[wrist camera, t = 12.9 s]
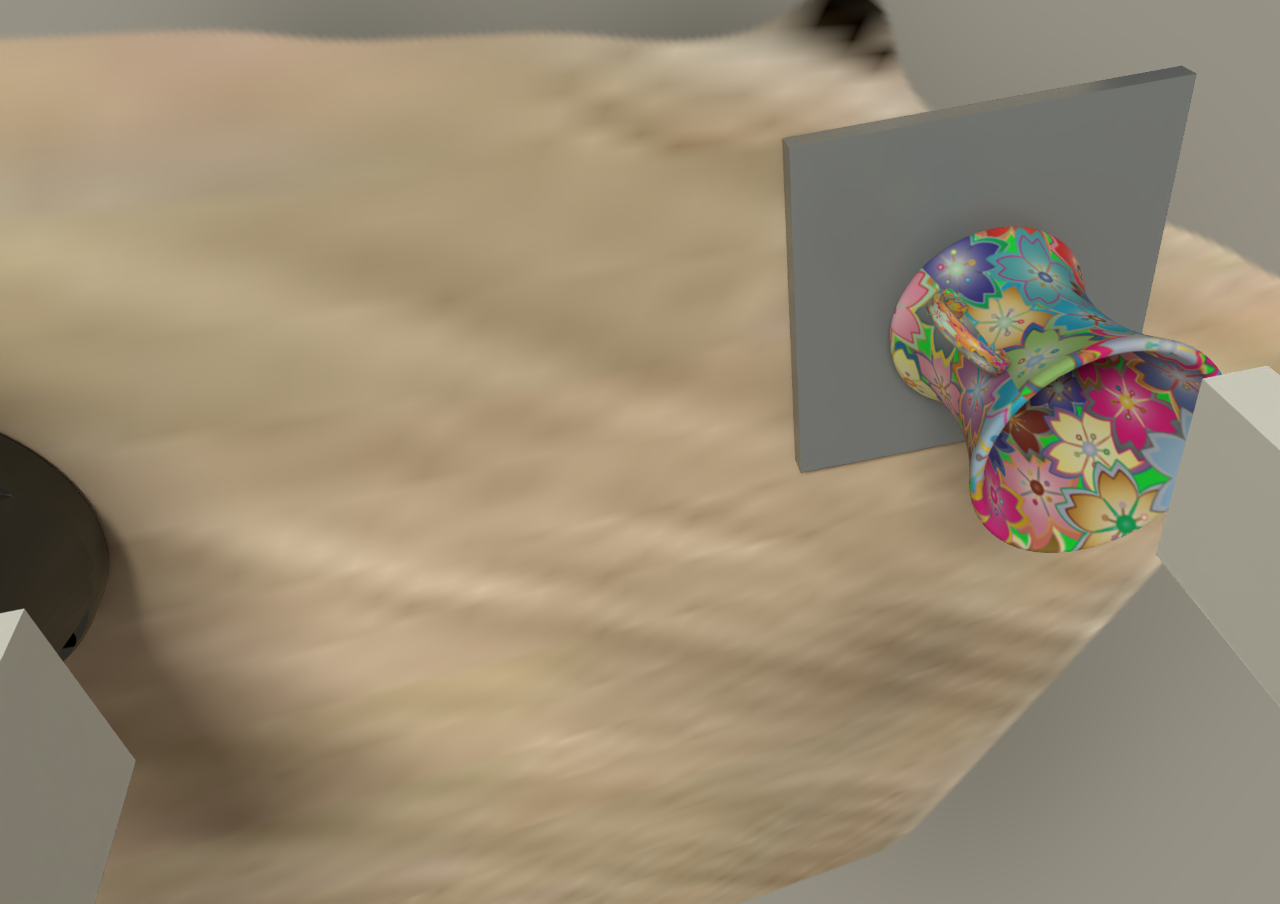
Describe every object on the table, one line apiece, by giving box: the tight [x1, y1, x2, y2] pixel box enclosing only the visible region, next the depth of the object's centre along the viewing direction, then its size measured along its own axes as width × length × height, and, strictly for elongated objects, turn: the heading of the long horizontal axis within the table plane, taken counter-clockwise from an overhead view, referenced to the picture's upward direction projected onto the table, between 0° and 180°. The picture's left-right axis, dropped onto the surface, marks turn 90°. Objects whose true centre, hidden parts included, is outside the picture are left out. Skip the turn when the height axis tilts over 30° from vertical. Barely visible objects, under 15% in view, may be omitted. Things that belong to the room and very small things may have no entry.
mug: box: [890, 226, 1222, 553], centre depth 39 cm, size 12×9×11 cm
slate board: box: [782, 66, 1196, 473], centre depth 44 cm, size 16×16×1 cm
